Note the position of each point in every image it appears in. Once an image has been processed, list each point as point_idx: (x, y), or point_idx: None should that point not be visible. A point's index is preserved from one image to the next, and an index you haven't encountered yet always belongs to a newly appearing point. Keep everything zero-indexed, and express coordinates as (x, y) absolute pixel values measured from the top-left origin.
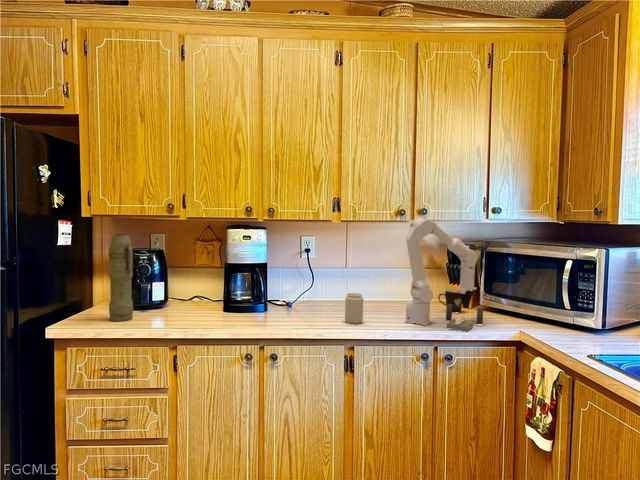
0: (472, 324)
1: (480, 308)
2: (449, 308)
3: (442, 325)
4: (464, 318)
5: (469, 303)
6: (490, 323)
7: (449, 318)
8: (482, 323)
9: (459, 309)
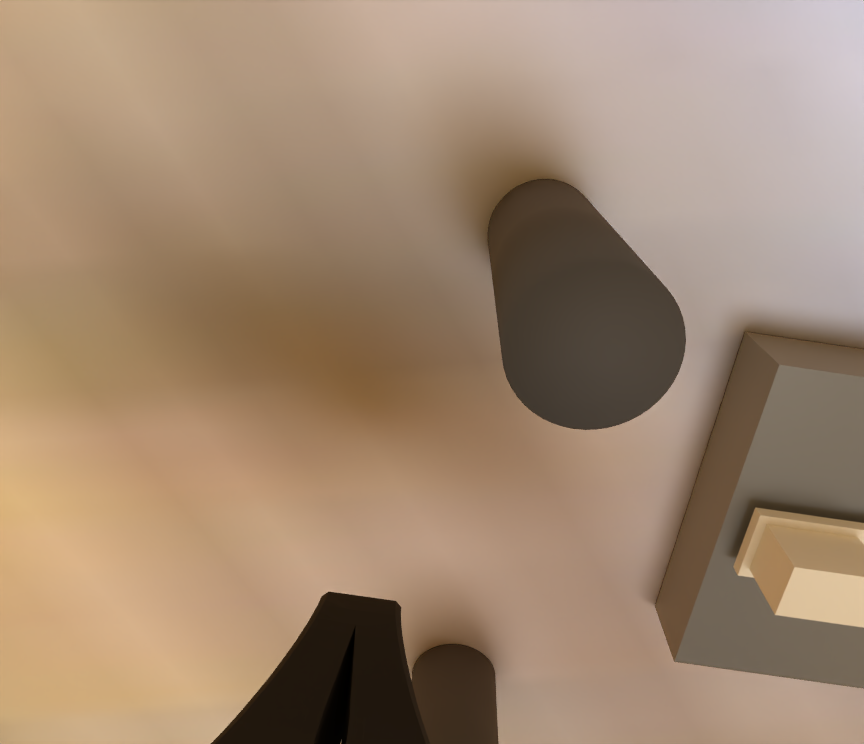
0: (803, 355)
1: (595, 342)
2: None
3: (824, 712)
4: (777, 537)
5: (359, 671)
6: (302, 34)
7: (495, 695)
8: (564, 186)
9: None
